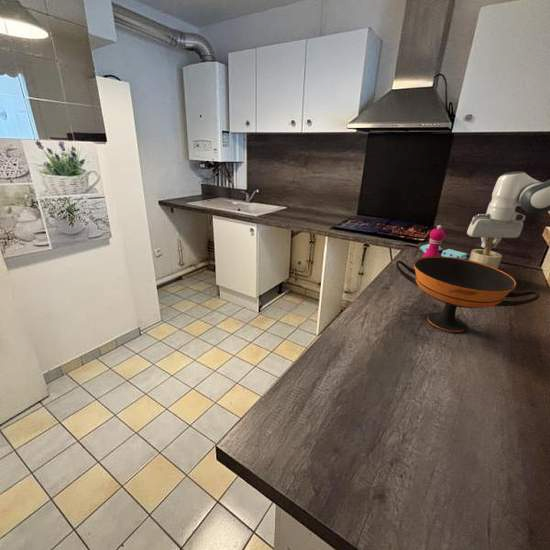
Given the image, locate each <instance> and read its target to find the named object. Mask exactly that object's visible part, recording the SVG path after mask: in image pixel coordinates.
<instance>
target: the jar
mask: <svg viewBox="0 0 550 550" xmlns="http://www.w3.org/2000/svg"><path fill="white" fill-rule="evenodd" d="M483 252H484V248H483V249H481V248H474V249H471V251H470V255H469V257H468V260H471V261H475V262H479V263H482V264H486V265H489V266H492V267H494V268H497V269H499V266H500V264H501V260H502V257H503V255H502V254H501V253H499V252H497V251H493V250H490V253H489V256H486V255H483Z"/></svg>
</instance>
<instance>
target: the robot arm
mask: <svg viewBox="0 0 550 550" xmlns="http://www.w3.org/2000/svg"><path fill="white" fill-rule="evenodd" d="M517 207H521V209H522V210H523V211H524V212H526V213H528V214H532V215H542V214H545V213H548V212H550V179H548V180H547V181H544V182H542V181H540V180H537V179H535V178H533V177H531V176H530V175H528V173H526V172H525V171H511V172H505V173H503V174H501V175H500V176H499V177H498V178H497V180H496V182H495V184H494V187H493V190H492V192H491V200H490V201H489V203H488V206H487V208H486V212H485V213H477V214H475V215H474V216H473V217H472V218H471V222H470V224H469V226H468V228H467V231H466V234H467V236H469V237H470V238H480V240H481V247H480V248H483V249H485V248H487V247H488V243H487V240H488V237H495V239H494V242H493V244H492V247H491V249H492V248H494V249H495V248H497V245H498V244H499V243H500V242H501V241H502V239H516V238H518V237H519V236H520V235H521V233H522V230H523V227H524V221H525V219H526V217H527V216H526V214H522V213H521V212H518V211H516V210H517V209H516V208H517Z"/></svg>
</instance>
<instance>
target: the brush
mask: <svg viewBox="0 0 550 550" xmlns="http://www.w3.org/2000/svg"><path fill="white" fill-rule="evenodd" d="M494 240H495V237H488V240H486V242H487V243H488V247H487V248H483V250H484V252H483V255H486V256H489V253H490V251H492V248H491V247H492V244H493V242H494Z"/></svg>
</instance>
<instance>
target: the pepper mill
mask: <svg viewBox="0 0 550 550" xmlns="http://www.w3.org/2000/svg"><path fill="white" fill-rule="evenodd" d="M429 237H430V238H429V244H430V245H429V248H428V250H427V251H426V252H425V253H424V252H423V254H422V257H429V256H441V254H440V250H439V246H440V245H441V244H442V243H443V239H444V238H445V237H446V232H445V230H444V229H442V225H440V224H438V225H436V228H433V229H432V230H431V231H430V232H429ZM440 247H441V246H440Z"/></svg>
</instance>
